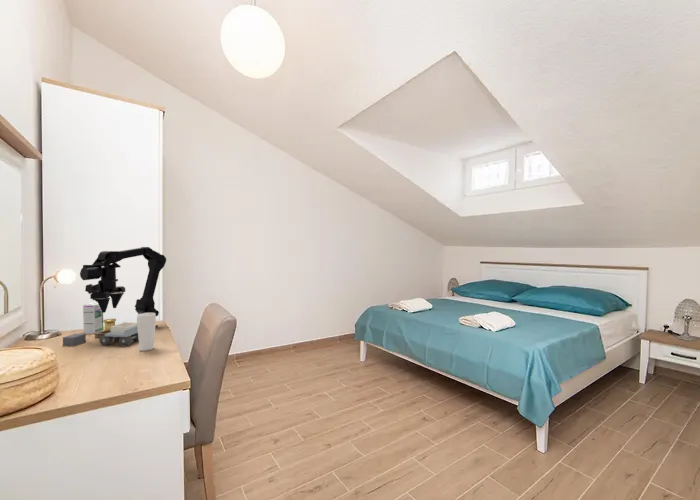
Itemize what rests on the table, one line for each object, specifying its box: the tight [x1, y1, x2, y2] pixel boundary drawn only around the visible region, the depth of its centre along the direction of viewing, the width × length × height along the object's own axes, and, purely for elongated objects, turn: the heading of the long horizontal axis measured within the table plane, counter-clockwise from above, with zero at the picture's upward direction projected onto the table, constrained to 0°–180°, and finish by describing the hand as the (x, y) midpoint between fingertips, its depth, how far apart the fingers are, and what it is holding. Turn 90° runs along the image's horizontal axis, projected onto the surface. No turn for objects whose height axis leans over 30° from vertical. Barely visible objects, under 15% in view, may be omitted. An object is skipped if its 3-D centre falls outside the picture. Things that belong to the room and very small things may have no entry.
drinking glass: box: [136, 313, 157, 352], centre depth 137 cm, size 7×7×15 cm
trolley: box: [98, 326, 139, 347], centre depth 146 cm, size 10×13×7 cm
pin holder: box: [94, 330, 106, 339], centre depth 156 cm, size 8×8×2 cm
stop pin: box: [103, 318, 117, 333], centre depth 156 cm, size 5×5×8 cm
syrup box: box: [82, 302, 104, 335], centre depth 162 cm, size 6×6×14 cm
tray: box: [110, 322, 137, 333], centre depth 147 cm, size 8×8×3 cm
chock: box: [62, 333, 87, 347], centre depth 144 cm, size 6×5×4 cm
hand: (109, 310), depth 153 cm, fingers open, 9 cm apart
